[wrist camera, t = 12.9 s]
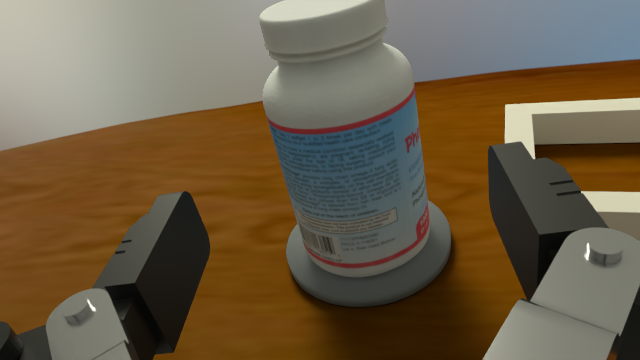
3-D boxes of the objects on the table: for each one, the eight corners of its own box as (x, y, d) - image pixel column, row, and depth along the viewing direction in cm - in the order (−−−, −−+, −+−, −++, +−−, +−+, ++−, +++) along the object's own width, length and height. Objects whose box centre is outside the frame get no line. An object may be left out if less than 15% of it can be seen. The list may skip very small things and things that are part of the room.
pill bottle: (455, 253, 21) (436, -11, 15) (325, 301, 20) (252, 42, 14) (398, 188, 26) (368, -29, 20) (293, 224, 25) (229, 9, 19)
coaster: (264, 297, 22) (260, 288, 22) (317, 196, 28) (315, 188, 28) (441, 316, 19) (440, 306, 19) (457, 199, 25) (457, 189, 25)
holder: (503, 244, 22) (504, 208, 21) (505, 133, 30) (505, 104, 29) (799, 258, 18) (817, 217, 17) (709, 127, 26) (718, 94, 25)
